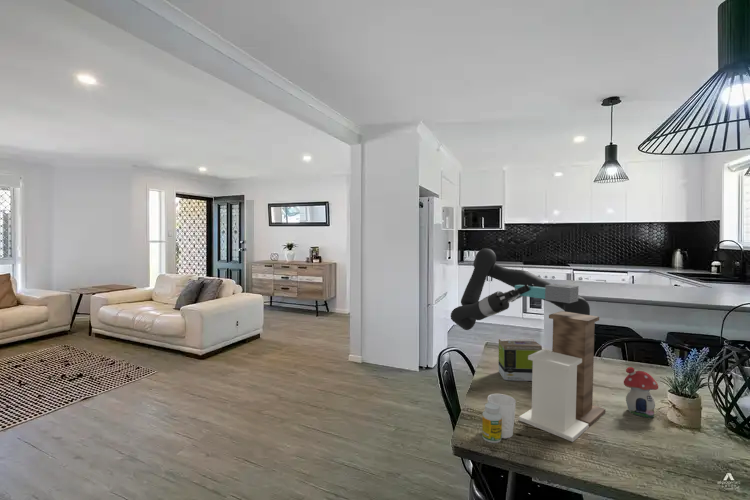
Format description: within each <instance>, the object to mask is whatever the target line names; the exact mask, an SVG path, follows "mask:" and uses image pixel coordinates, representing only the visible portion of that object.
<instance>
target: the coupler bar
mask: <svg viewBox="0 0 750 500" xmlns="http://www.w3.org/2000/svg"><path fill="white" fill-rule="evenodd" d="M523 286H525V285H515V288H514V290H515V289H518V288H521V287H523ZM529 288H530V290H529V291H527V292H525V293H523V294H521V293H520V294H521V295H520V296H522V297H528V298H535V299H538V298H541V299H540V300H542V299H545V300H550V301H557V302H564V303H573V302H576V301H578V296H579V285H569V284H560V283H559V284H558V283H550V285H545V288H544V287H536V286H529ZM545 300H544V301H545Z"/></svg>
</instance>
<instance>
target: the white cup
mask: <svg viewBox="0 0 750 500" xmlns="http://www.w3.org/2000/svg"><path fill="white" fill-rule="evenodd" d="M487 403H492V404H494V405H497V406H499V407H500V411H499V413H500V414H501V415H502V437H501V439H509V438H510V439H511V437H513V435H514V426H515V417H516V405H517V404H516V403H517V401H516V399H515V398H514V397H512V396H511V395H508V394H502V393H491V394H488V396H487Z"/></svg>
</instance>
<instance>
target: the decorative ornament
mask: <svg viewBox="0 0 750 500" xmlns="http://www.w3.org/2000/svg"><path fill="white" fill-rule="evenodd" d="M625 369H626V370H625V372H626V373H627V374H628V375H626V377H625V378H624V380H623V385H624V387H627V388H629V389H630V390H629V391H628V392H627V395H626V397H625V403H626V406H627V410H628V411H629V413H630V414H631V415H635V416H637V417H641V418H647V419H649V418H650V419H651V418H654V417H655V407H656V401H655V398H654V397H653V395H652V394H651V393H650V391H656V390H659V385H658V383H657V381H656V379H655V378H654V377H653V376H652V375H650V373H648V372H646V371H642V370H635V368H634V367H632V366H629V367H627V368H625Z"/></svg>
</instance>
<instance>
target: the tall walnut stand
mask: <svg viewBox="0 0 750 500" xmlns="http://www.w3.org/2000/svg"><path fill="white" fill-rule="evenodd" d="M548 319H551V320H552V349H551V350H552V352H556V353H560V354H564V355H568V356H573V357H577V358H581V359H582V363H580V364H579V365H577V387H576V420H579V421H582V422H585V423H588V424H589V427H591V426H592V425H594V424H595V423H596V421H598V420H599V419H600V418H601V417H602V416H604V415H605V414H606V408H604V407H600V406H597V405H594V404H593V397H594V395H593V394H594V391H593V390H594V388H593V387H594V357H595V356H594V355H595V326H596V325H595V324H596V322H599V321H600V316H596V315H584V314H578V313H571V312H565V311H564V310H559V311H556V312H554V313H550V314H548Z"/></svg>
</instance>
